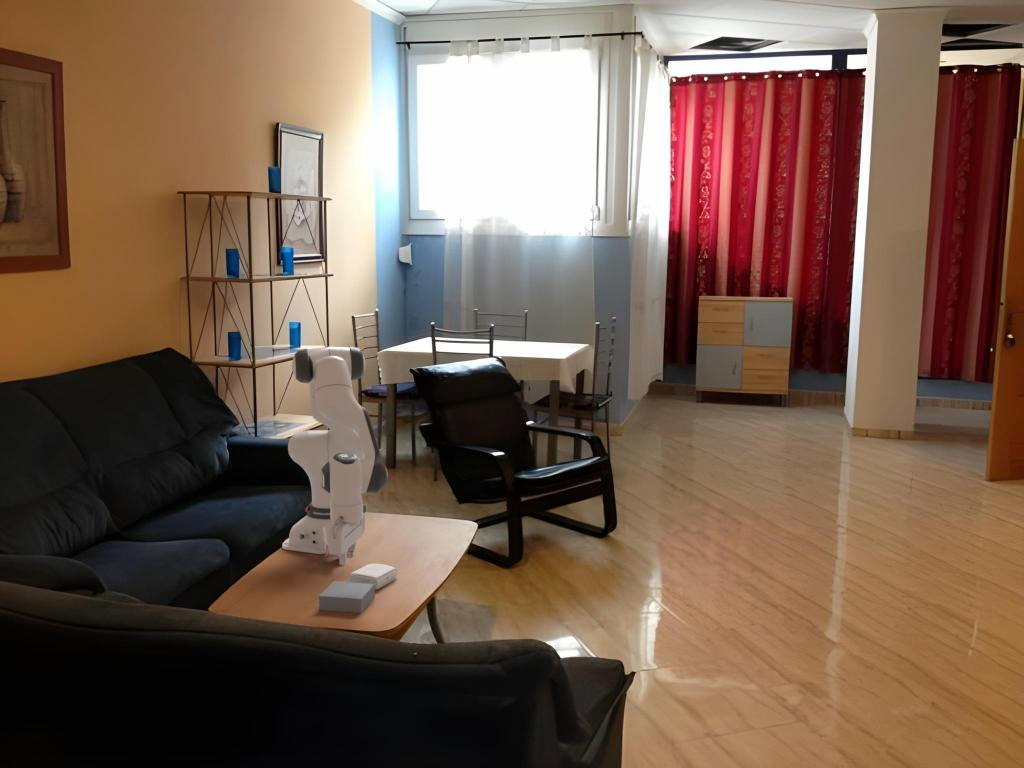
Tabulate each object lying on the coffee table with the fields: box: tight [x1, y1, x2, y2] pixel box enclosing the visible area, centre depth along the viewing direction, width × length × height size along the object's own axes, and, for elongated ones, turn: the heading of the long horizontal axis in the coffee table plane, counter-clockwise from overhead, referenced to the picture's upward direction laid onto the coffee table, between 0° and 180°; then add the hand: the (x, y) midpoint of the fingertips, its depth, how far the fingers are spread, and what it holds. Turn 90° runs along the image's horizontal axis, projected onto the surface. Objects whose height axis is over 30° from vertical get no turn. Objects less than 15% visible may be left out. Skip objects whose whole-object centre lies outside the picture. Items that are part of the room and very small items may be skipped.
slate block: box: [318, 580, 376, 614], centre depth 255 cm, size 12×12×4 cm
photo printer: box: [348, 563, 398, 590], centre depth 272 cm, size 10×4×12 cm
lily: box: [320, 534, 339, 565], centre depth 287 cm, size 12×12×10 cm
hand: (347, 560), depth 253 cm, fingers open, 5 cm apart
